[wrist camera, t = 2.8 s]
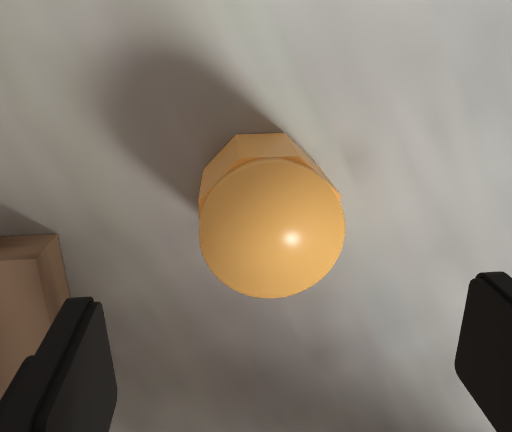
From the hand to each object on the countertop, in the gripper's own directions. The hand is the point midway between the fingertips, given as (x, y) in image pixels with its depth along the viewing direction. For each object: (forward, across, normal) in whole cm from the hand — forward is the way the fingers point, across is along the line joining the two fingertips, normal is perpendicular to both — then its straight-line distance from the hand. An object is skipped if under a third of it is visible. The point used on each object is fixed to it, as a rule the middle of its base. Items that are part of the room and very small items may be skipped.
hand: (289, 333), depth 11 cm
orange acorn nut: (+13, 0, +1) cm, 13 cm away
